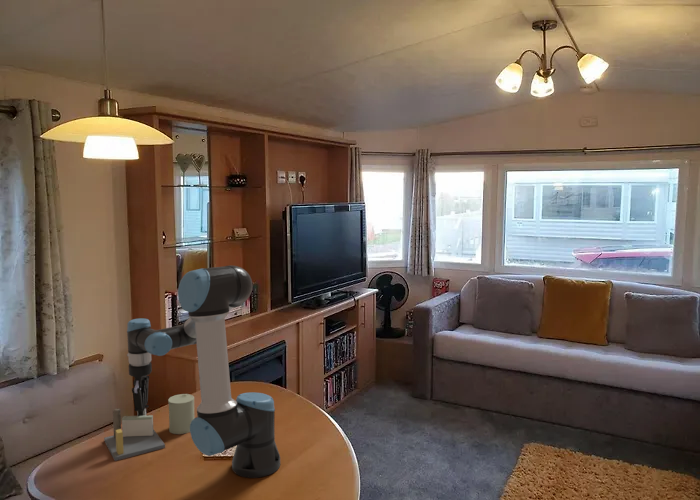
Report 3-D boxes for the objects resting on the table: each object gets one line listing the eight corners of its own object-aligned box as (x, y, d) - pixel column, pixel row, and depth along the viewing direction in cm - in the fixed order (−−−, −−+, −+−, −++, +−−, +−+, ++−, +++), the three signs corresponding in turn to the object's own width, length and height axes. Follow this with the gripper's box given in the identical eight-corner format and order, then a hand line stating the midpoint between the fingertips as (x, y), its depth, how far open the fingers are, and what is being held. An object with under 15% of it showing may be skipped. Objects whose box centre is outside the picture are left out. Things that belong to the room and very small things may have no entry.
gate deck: (165, 447, 182) (164, 416, 181) (114, 461, 173) (113, 428, 172) (151, 429, 196) (150, 400, 195) (104, 440, 187) (102, 410, 186)
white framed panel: (122, 436, 187) (121, 418, 186) (123, 434, 189) (123, 416, 188) (152, 435, 188) (151, 417, 187) (153, 433, 190) (152, 415, 189)
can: (199, 423, 201) (198, 393, 200) (189, 434, 192) (188, 402, 191) (175, 422, 202) (174, 392, 201) (164, 433, 193) (163, 401, 192)
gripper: (134, 356, 194) (136, 418, 197) (123, 369, 182) (125, 435, 185) (155, 356, 195) (157, 418, 198) (145, 369, 182) (148, 434, 185)
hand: (142, 426), depth 191 cm, fingers closed
